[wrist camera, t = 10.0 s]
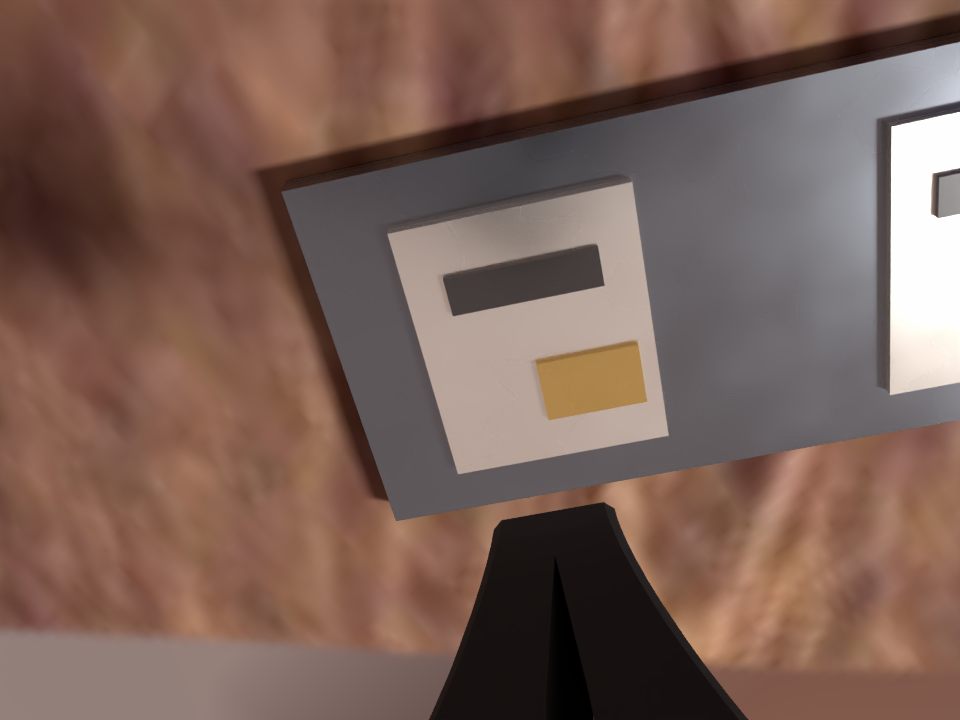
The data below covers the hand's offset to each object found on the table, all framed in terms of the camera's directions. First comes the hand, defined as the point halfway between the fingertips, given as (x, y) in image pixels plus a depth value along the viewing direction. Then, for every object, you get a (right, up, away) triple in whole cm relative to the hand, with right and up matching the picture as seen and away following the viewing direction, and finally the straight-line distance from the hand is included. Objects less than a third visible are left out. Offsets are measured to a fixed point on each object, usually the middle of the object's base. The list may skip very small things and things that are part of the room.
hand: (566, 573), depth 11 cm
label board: (+4, +4, +5) cm, 8 cm away
